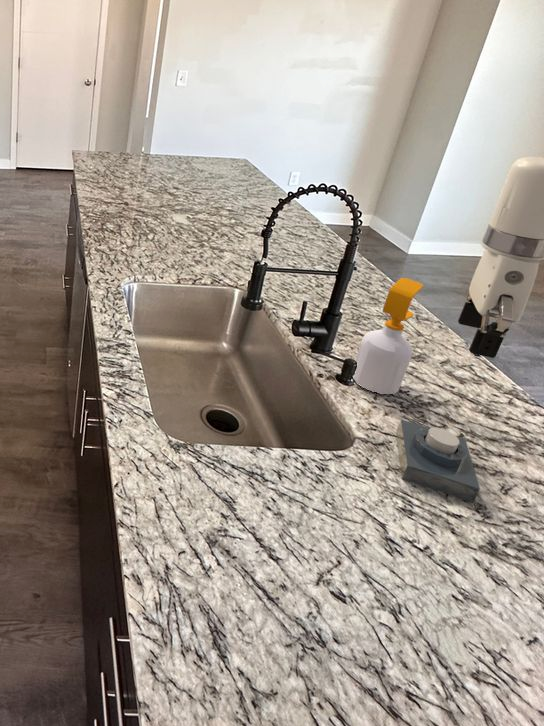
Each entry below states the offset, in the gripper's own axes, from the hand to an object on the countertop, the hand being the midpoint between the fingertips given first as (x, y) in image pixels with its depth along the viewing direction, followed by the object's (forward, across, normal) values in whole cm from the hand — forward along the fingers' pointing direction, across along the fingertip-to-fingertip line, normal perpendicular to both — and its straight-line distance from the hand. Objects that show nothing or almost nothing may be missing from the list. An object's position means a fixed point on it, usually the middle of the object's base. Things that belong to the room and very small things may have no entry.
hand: (474, 339), depth 87 cm
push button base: (+25, -1, -1) cm, 25 cm away
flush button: (+21, -1, -1) cm, 21 cm away
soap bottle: (+25, +21, +7) cm, 34 cm away
